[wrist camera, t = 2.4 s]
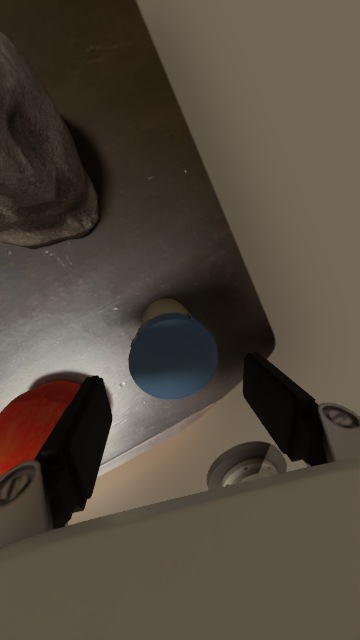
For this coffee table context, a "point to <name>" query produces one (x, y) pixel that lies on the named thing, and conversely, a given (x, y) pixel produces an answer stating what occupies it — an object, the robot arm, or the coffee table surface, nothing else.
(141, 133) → the coffee table surface
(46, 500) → the robot arm
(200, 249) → the coffee table surface
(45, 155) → the figurine
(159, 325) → the jar lid
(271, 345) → the coffee table surface
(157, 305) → the jar
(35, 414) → the apple
